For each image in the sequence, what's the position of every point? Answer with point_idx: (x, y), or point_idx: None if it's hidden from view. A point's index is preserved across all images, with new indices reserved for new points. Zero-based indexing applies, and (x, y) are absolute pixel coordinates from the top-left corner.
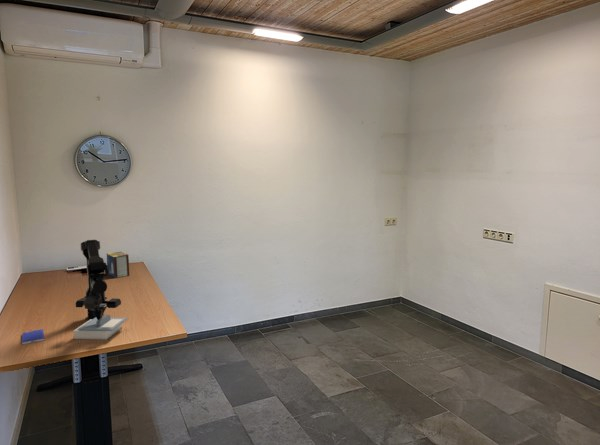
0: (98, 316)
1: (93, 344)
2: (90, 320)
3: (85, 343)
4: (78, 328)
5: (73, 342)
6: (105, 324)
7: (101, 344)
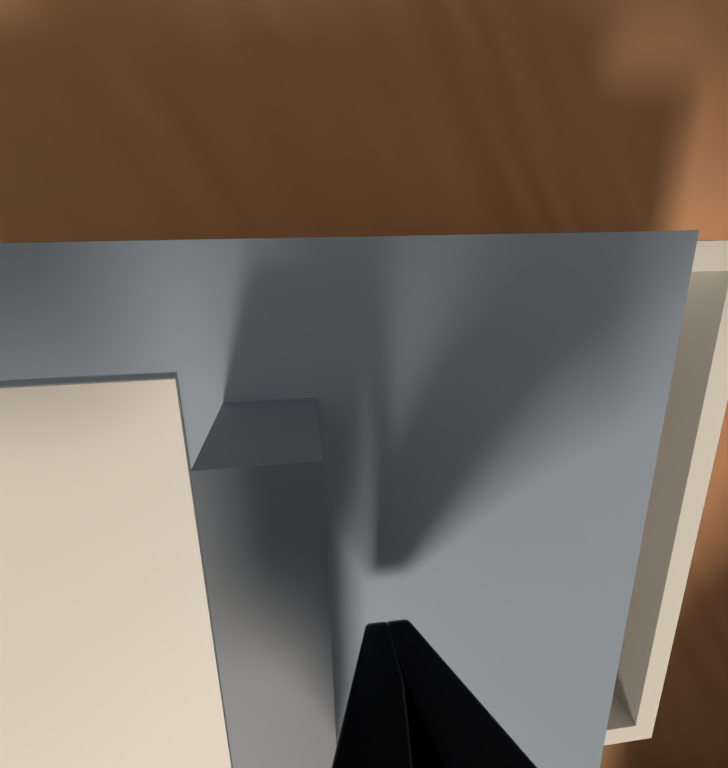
0: (403, 733)
1: (190, 21)
2: (636, 706)
3: (367, 68)
4: (704, 371)
5: (587, 107)
6: (178, 542)
7: (27, 24)
